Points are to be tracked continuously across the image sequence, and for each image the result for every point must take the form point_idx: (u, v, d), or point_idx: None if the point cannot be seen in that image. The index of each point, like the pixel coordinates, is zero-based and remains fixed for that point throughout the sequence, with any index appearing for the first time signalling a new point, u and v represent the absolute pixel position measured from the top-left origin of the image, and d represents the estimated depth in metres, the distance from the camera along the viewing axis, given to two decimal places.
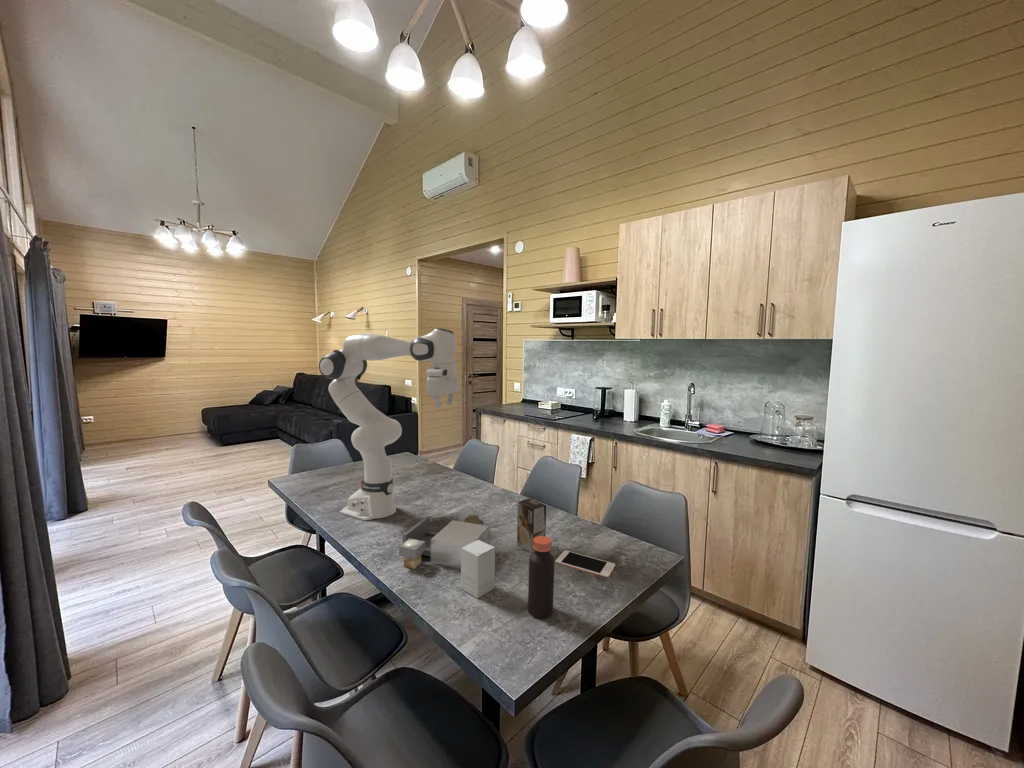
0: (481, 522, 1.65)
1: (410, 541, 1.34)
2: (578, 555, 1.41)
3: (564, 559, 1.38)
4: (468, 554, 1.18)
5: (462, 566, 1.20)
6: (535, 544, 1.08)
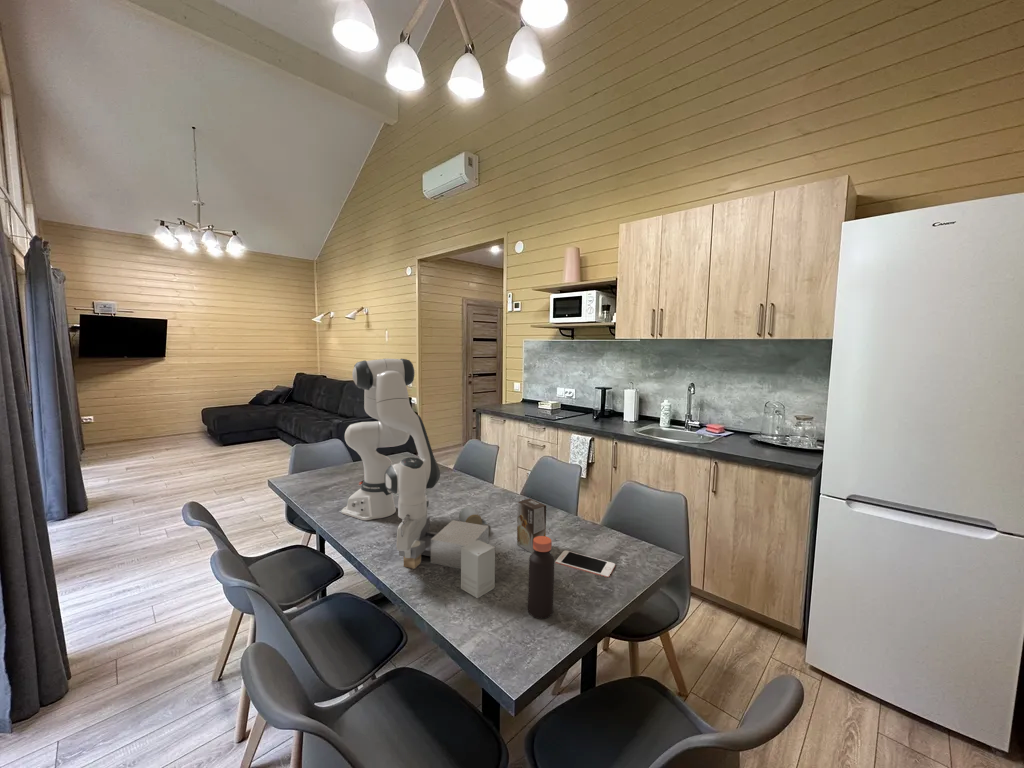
0: (483, 522, 1.65)
1: None
2: (578, 555, 1.41)
3: (564, 559, 1.38)
4: (468, 554, 1.18)
5: (462, 566, 1.20)
6: (535, 544, 1.08)
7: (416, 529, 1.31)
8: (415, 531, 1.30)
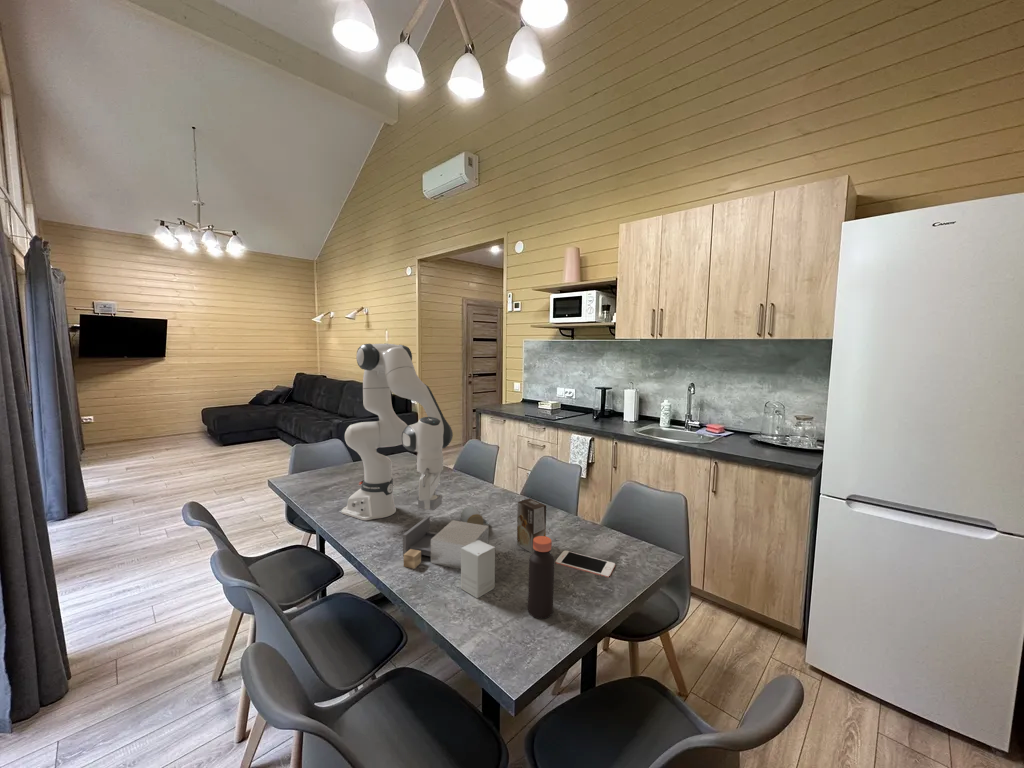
0: (484, 522, 1.65)
1: None
2: (578, 555, 1.41)
3: (564, 559, 1.38)
4: (468, 554, 1.18)
5: (462, 566, 1.20)
6: (535, 544, 1.08)
7: (434, 483, 1.41)
8: (433, 484, 1.40)
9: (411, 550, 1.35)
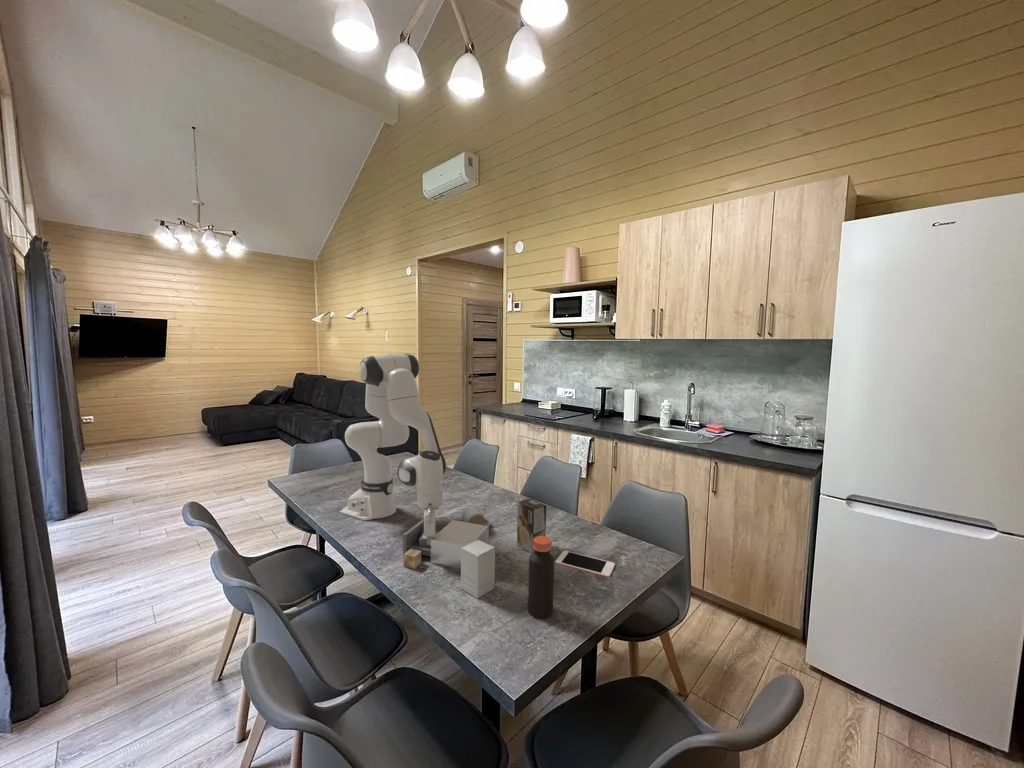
0: (486, 521, 1.66)
1: None
2: (577, 555, 1.41)
3: (564, 559, 1.38)
4: (468, 554, 1.18)
5: (462, 566, 1.20)
6: (535, 544, 1.08)
7: None
8: None
9: (411, 550, 1.35)
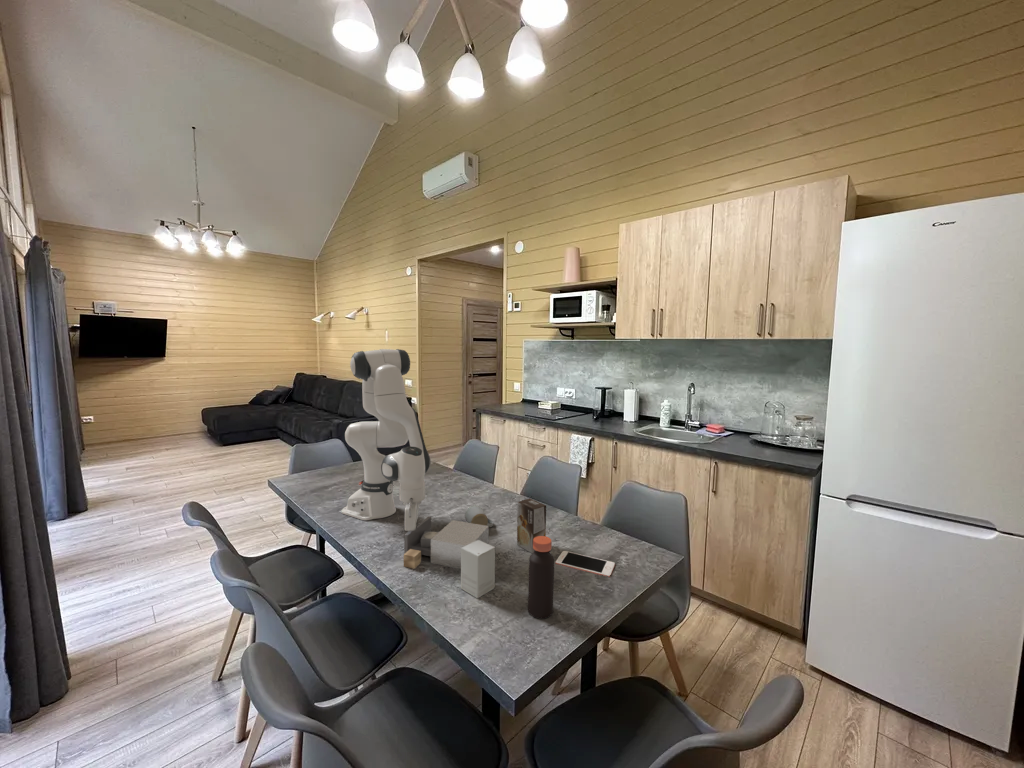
0: (488, 521, 1.66)
1: (428, 533, 1.45)
2: (577, 555, 1.41)
3: (564, 560, 1.38)
4: (468, 554, 1.18)
5: (462, 566, 1.20)
6: (535, 544, 1.08)
7: (417, 511, 1.44)
8: None
9: (411, 550, 1.35)
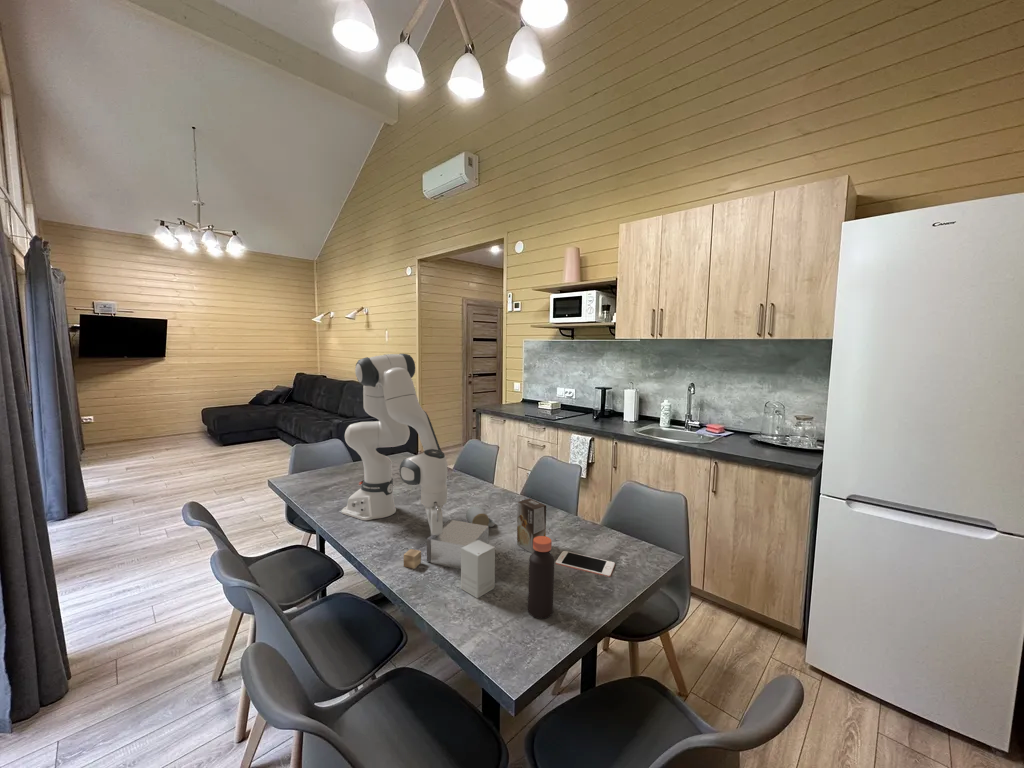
0: (490, 521, 1.66)
1: None
2: (577, 555, 1.41)
3: (564, 560, 1.38)
4: (468, 554, 1.18)
5: (462, 566, 1.20)
6: (535, 544, 1.08)
7: None
8: None
9: (411, 550, 1.35)
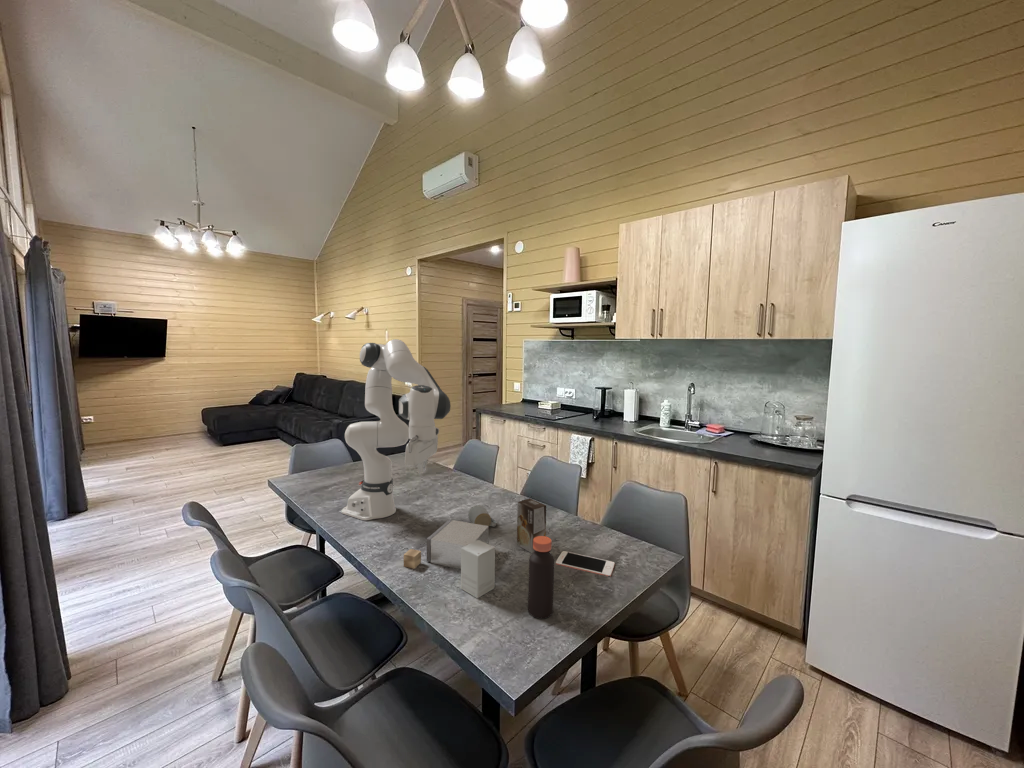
0: (492, 521, 1.67)
1: None
2: (577, 555, 1.41)
3: (564, 560, 1.37)
4: (468, 554, 1.18)
5: (462, 566, 1.20)
6: (535, 544, 1.08)
7: (425, 451, 1.40)
8: (424, 452, 1.39)
9: (411, 550, 1.35)
